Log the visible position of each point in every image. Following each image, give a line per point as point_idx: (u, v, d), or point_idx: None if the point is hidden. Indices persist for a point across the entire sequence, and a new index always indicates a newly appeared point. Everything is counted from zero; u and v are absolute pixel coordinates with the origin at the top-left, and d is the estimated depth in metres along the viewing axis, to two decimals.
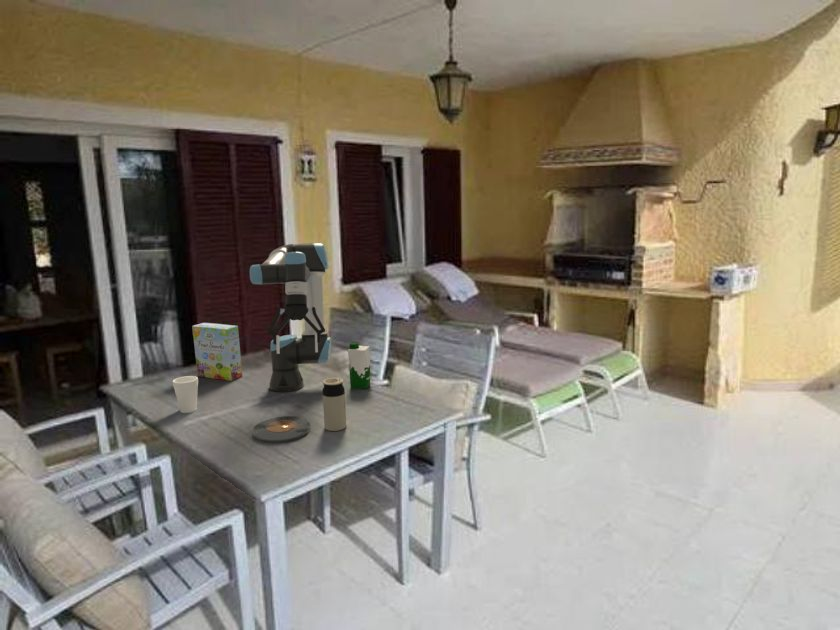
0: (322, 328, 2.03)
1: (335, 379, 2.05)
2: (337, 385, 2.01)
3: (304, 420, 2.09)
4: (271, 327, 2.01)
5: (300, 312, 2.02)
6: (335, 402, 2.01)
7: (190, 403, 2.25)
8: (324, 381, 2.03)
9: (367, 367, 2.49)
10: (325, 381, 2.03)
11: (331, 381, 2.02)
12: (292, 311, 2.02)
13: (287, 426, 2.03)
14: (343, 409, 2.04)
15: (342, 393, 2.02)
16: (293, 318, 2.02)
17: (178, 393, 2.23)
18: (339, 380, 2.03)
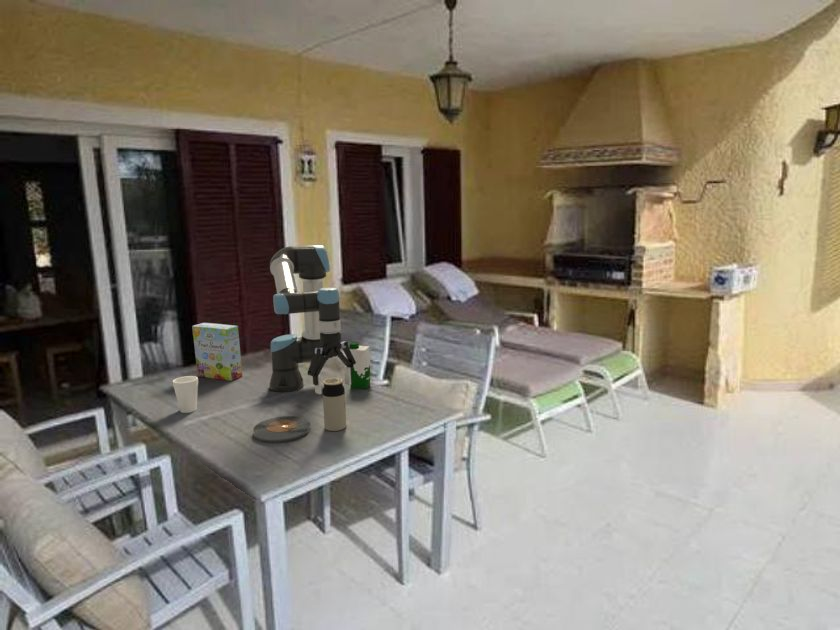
0: (353, 361, 2.08)
1: (335, 379, 2.05)
2: (337, 385, 2.01)
3: (304, 420, 2.09)
4: (314, 369, 1.95)
5: (338, 349, 2.01)
6: (335, 402, 2.01)
7: (190, 403, 2.25)
8: (324, 381, 2.03)
9: (367, 367, 2.49)
10: (325, 381, 2.03)
11: (331, 381, 2.02)
12: (331, 350, 1.99)
13: (287, 426, 2.03)
14: (343, 409, 2.04)
15: (342, 393, 2.02)
16: (331, 356, 2.00)
17: (178, 393, 2.23)
18: (339, 380, 2.03)
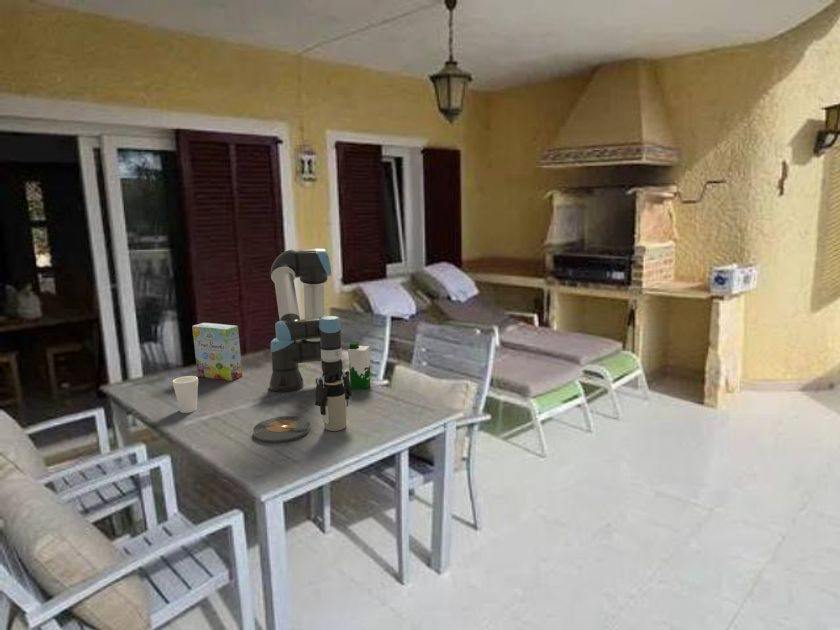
0: (350, 392, 2.09)
1: None
2: (337, 385, 2.01)
3: (304, 420, 2.09)
4: (320, 400, 1.99)
5: (339, 377, 2.03)
6: (335, 402, 2.01)
7: (190, 403, 2.25)
8: None
9: (367, 367, 2.49)
10: None
11: None
12: (333, 378, 2.01)
13: (287, 426, 2.03)
14: (343, 409, 2.04)
15: (342, 393, 2.02)
16: None
17: (178, 393, 2.23)
18: (340, 380, 2.03)
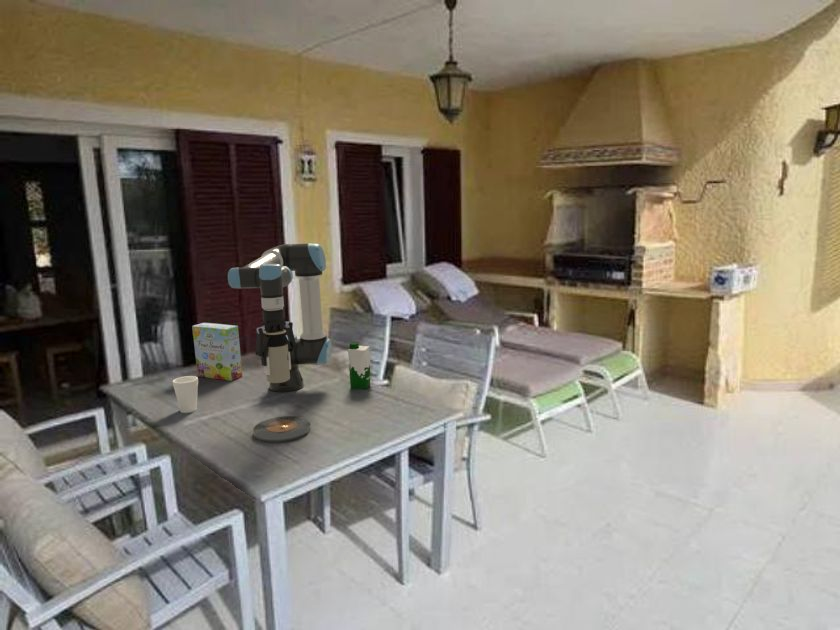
0: (294, 345, 2.02)
1: None
2: (279, 335, 1.94)
3: (304, 420, 2.09)
4: (260, 349, 1.92)
5: (281, 327, 1.96)
6: (276, 352, 1.94)
7: (190, 403, 2.25)
8: None
9: (367, 367, 2.49)
10: None
11: None
12: (274, 327, 1.94)
13: (287, 426, 2.03)
14: (285, 360, 1.97)
15: (284, 344, 1.96)
16: None
17: (178, 393, 2.23)
18: (281, 331, 1.96)
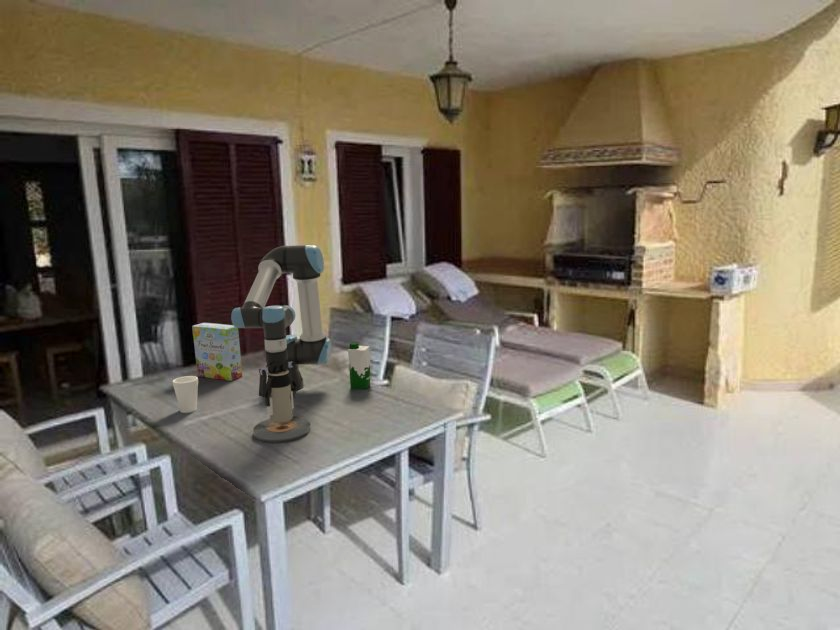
0: (297, 384, 2.05)
1: None
2: (282, 376, 1.97)
3: (304, 420, 2.09)
4: (264, 391, 1.95)
5: (284, 368, 1.99)
6: (279, 393, 1.97)
7: (190, 403, 2.25)
8: None
9: (367, 367, 2.49)
10: None
11: None
12: (277, 368, 1.97)
13: (287, 426, 2.03)
14: (288, 400, 2.00)
15: (287, 384, 1.99)
16: None
17: (178, 393, 2.23)
18: (284, 371, 1.99)
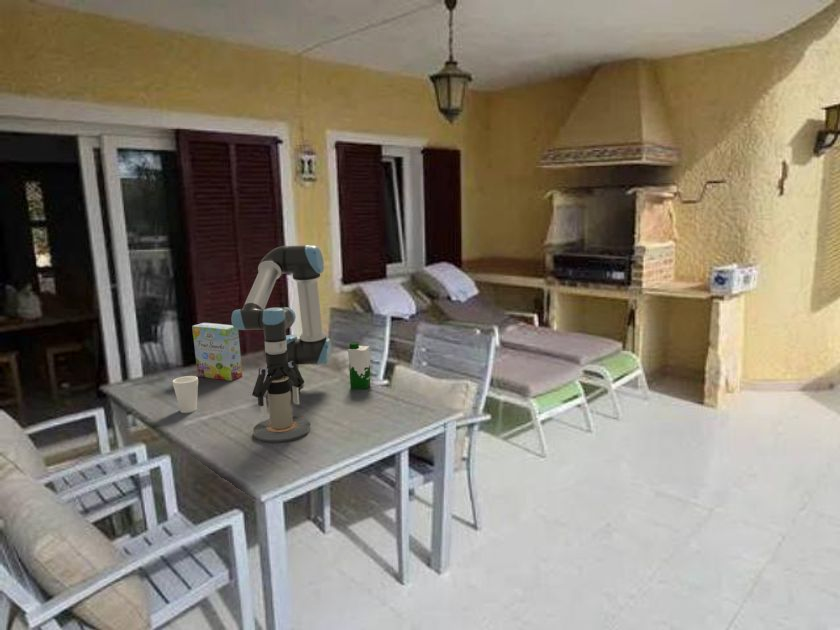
0: (302, 380, 2.06)
1: None
2: (282, 383, 1.98)
3: (304, 420, 2.09)
4: (258, 390, 1.93)
5: (284, 370, 1.99)
6: (279, 399, 1.98)
7: (190, 403, 2.25)
8: None
9: (367, 367, 2.49)
10: None
11: (276, 378, 1.99)
12: (277, 370, 1.97)
13: None
14: (288, 407, 2.00)
15: (287, 390, 1.99)
16: (277, 376, 1.98)
17: (178, 393, 2.23)
18: (284, 378, 2.00)
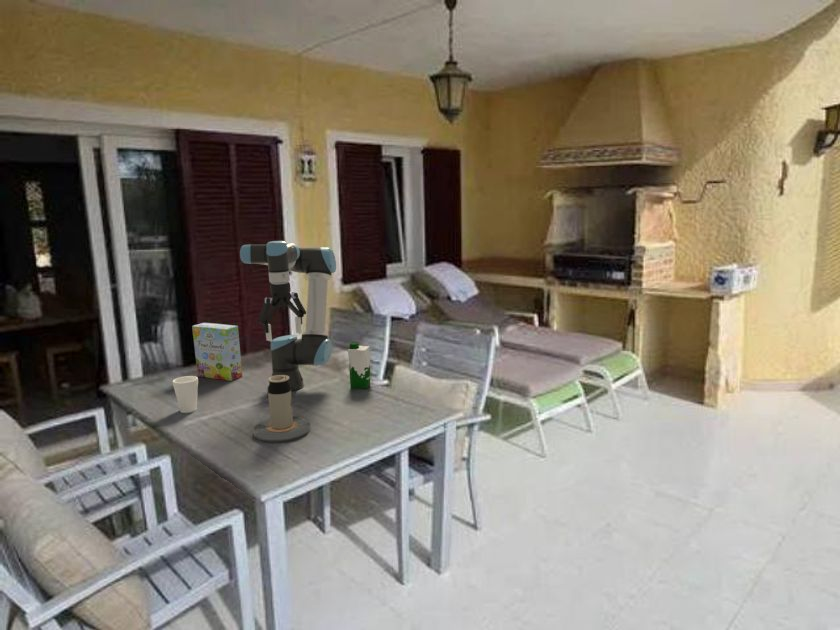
0: (304, 311, 2.20)
1: (281, 376, 2.02)
2: (282, 383, 1.98)
3: (304, 420, 2.09)
4: (264, 317, 2.07)
5: (287, 300, 2.13)
6: (280, 399, 1.98)
7: (190, 403, 2.25)
8: (269, 378, 2.00)
9: (367, 367, 2.49)
10: (270, 378, 1.99)
11: (276, 378, 1.99)
12: (281, 300, 2.11)
13: None
14: (289, 407, 2.00)
15: (287, 390, 1.99)
16: (281, 306, 2.12)
17: (178, 393, 2.23)
18: (285, 378, 2.00)
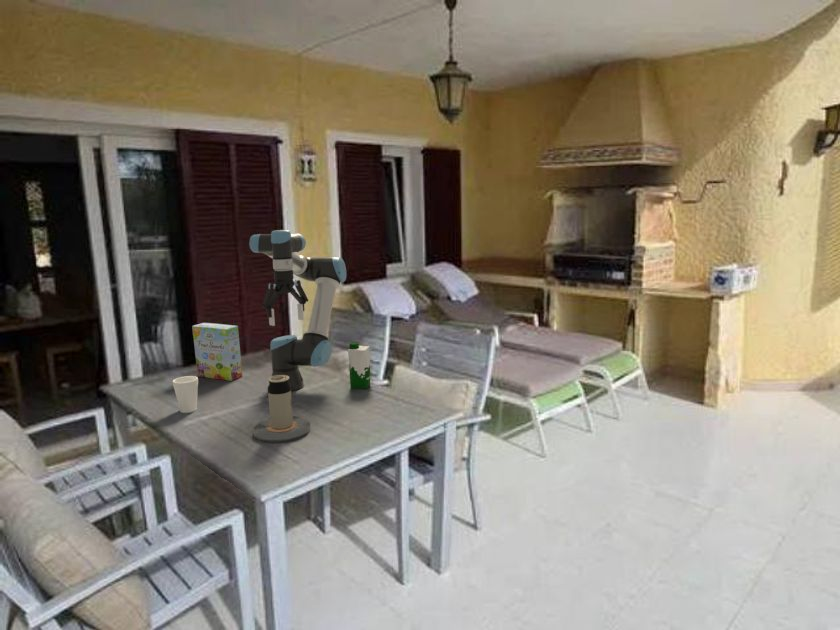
0: (306, 298, 2.29)
1: (281, 376, 2.02)
2: (282, 383, 1.98)
3: (304, 420, 2.09)
4: (267, 302, 2.16)
5: (290, 286, 2.22)
6: (279, 399, 1.98)
7: (190, 403, 2.25)
8: (269, 378, 2.00)
9: (367, 367, 2.49)
10: (270, 378, 1.99)
11: (276, 378, 1.99)
12: (284, 286, 2.20)
13: None
14: (289, 407, 2.00)
15: (287, 390, 1.99)
16: (284, 292, 2.21)
17: (178, 393, 2.23)
18: (285, 378, 2.00)
